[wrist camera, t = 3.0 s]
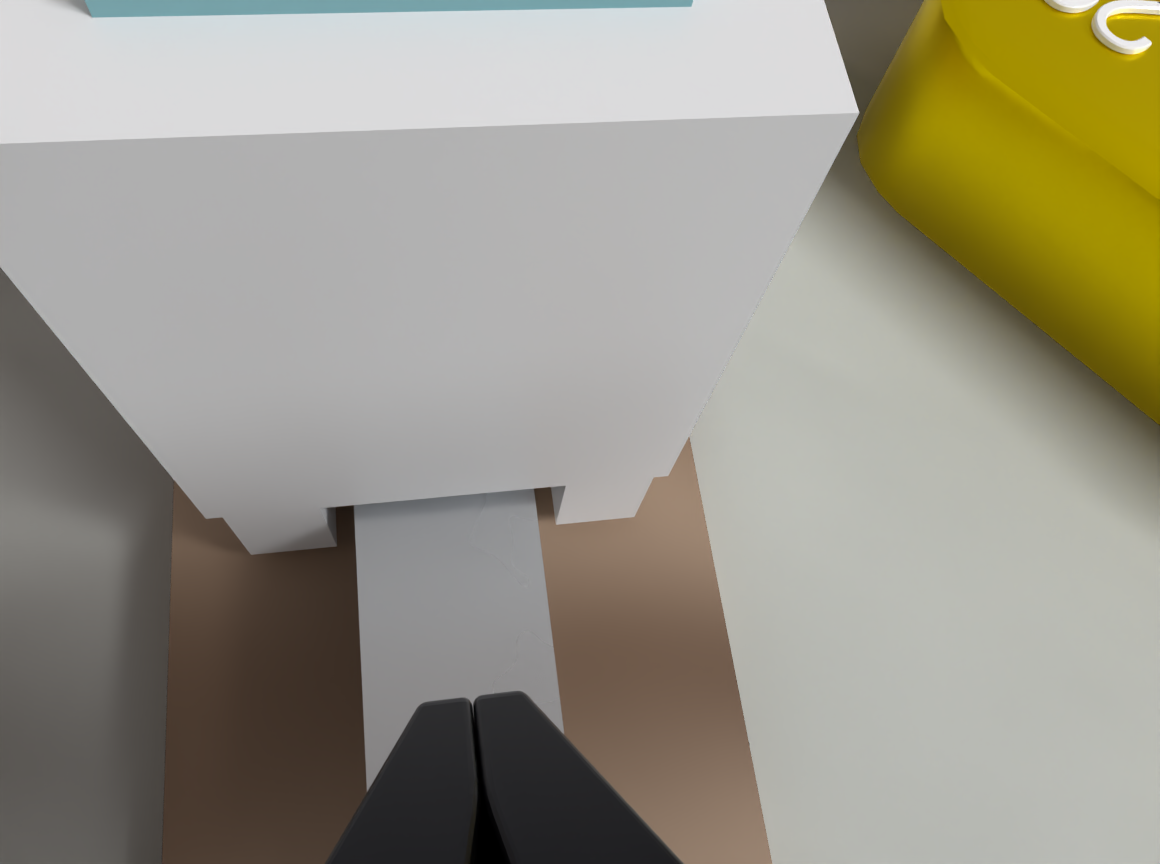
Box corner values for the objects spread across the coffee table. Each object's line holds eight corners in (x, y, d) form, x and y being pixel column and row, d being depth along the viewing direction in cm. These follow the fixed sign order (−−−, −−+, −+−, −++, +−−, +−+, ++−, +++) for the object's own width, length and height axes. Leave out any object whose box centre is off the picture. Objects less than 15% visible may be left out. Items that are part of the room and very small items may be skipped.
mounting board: (786, 1021, 13) (804, 1032, 12) (173, 1134, 12) (153, 1152, 11) (574, -103, 21) (578, -137, 21) (203, -103, 20) (193, -139, 20)
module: (647, 515, 14) (876, 80, 6) (236, 556, 14) (-126, 111, 5) (600, 239, 16) (728, -371, 8) (237, 259, 15) (-30, -403, 7)
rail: (752, 951, 13) (892, 1005, 8) (199, 1045, 12) (43, 1159, 7) (561, -105, 20) (584, -353, 16) (218, -104, 19) (147, -370, 15)
